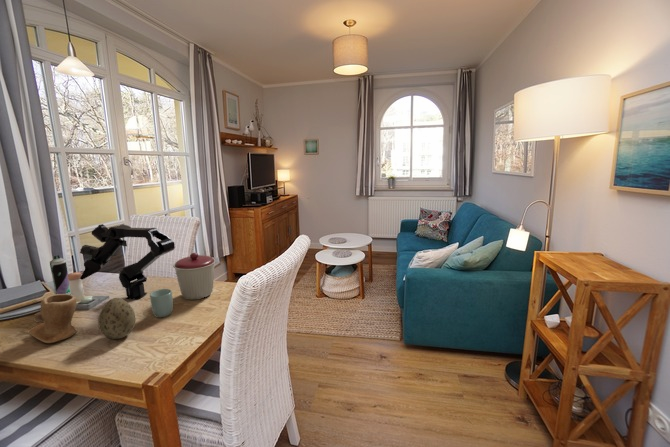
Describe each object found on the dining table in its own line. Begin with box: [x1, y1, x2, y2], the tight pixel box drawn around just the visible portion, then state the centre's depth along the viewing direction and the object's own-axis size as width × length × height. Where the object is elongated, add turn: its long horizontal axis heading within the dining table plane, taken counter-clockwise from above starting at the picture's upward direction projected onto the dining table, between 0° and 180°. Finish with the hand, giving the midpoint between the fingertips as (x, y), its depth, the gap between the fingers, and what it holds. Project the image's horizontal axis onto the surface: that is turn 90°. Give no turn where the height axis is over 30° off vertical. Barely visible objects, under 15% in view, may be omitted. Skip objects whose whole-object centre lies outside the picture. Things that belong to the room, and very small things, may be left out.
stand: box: [33, 310, 44, 323], centre depth 124 cm, size 7×7×3 cm
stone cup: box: [28, 293, 77, 344], centre depth 111 cm, size 15×12×15 cm
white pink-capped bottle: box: [67, 271, 86, 301], centre depth 137 cm, size 5×5×12 cm
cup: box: [149, 288, 174, 318], centre depth 126 cm, size 8×8×10 cm
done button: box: [80, 295, 93, 304], centre depth 133 cm, size 4×4×2 cm
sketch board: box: [75, 295, 110, 311], centre depth 136 cm, size 16×12×2 cm
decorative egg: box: [98, 297, 137, 340], centre depth 109 cm, size 11×11×15 cm
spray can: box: [49, 254, 70, 294], centre depth 141 cm, size 6×6×20 cm
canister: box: [172, 252, 216, 301], centre depth 143 cm, size 18×18×21 cm
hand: (84, 276), depth 137 cm, fingers open, 9 cm apart
